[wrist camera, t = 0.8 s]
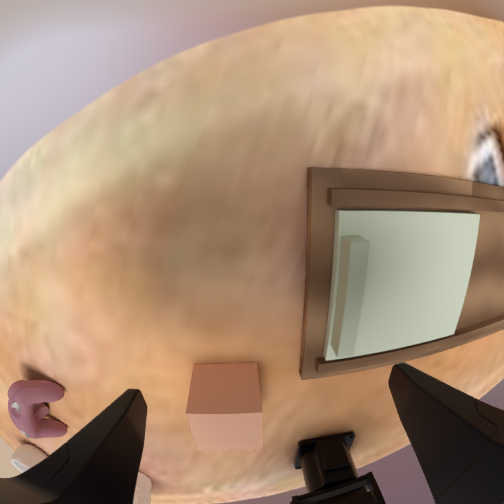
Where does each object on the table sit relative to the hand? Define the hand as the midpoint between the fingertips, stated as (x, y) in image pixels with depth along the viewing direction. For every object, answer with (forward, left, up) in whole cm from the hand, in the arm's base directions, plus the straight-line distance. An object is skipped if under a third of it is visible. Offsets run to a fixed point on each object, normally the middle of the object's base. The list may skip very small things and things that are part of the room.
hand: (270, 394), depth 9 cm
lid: (-1, -12, -10) cm, 15 cm away
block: (-10, +2, -11) cm, 15 cm away
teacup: (-33, +38, -11) cm, 52 cm away
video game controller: (-15, +24, -11) cm, 31 cm away
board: (-1, -18, -11) cm, 21 cm away
